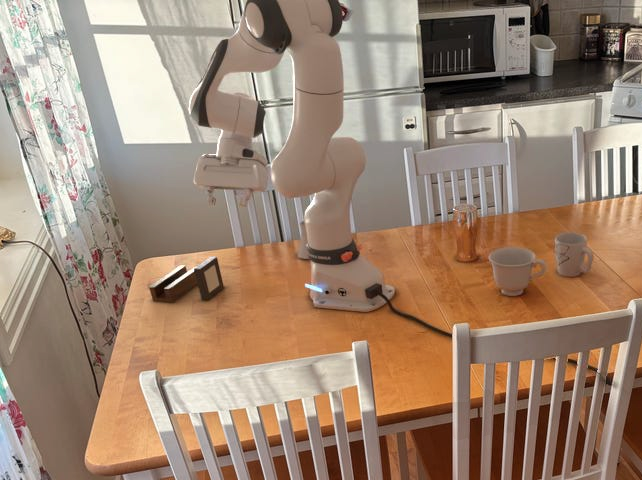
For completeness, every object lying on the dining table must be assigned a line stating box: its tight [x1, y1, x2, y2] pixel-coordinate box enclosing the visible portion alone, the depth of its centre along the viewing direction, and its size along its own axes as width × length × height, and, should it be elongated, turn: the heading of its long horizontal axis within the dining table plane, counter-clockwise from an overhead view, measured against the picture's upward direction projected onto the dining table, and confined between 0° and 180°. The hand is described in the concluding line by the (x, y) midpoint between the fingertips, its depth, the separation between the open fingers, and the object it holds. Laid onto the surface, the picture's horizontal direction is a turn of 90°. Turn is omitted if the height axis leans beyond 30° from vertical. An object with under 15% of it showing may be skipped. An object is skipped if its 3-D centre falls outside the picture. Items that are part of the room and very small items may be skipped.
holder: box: [149, 264, 198, 304], centre depth 195 cm, size 14×6×4 cm, turn 165°
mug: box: [554, 231, 594, 278], centre depth 195 cm, size 11×8×10 cm
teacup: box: [488, 246, 547, 297], centre depth 187 cm, size 12×15×10 cm
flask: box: [297, 220, 310, 260], centre depth 211 cm, size 7×7×10 cm
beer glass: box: [452, 203, 479, 263], centre depth 205 cm, size 7×7×15 cm
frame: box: [193, 256, 225, 302], centre depth 191 cm, size 8×2×9 cm, turn 165°
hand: (226, 205), depth 196 cm, fingers open, 8 cm apart
